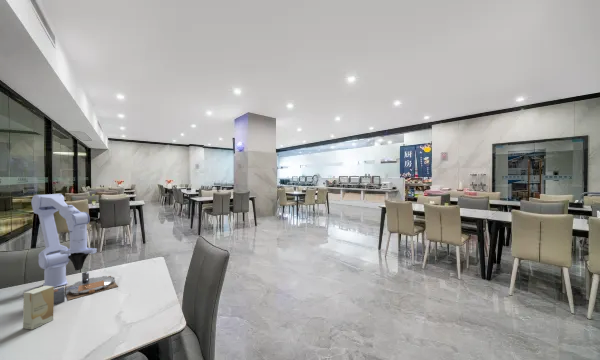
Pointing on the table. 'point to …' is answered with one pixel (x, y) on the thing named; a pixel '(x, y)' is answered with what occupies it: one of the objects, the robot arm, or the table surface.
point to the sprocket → (89, 284)
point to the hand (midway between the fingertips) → (78, 269)
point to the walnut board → (72, 296)
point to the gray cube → (59, 295)
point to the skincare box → (38, 307)
